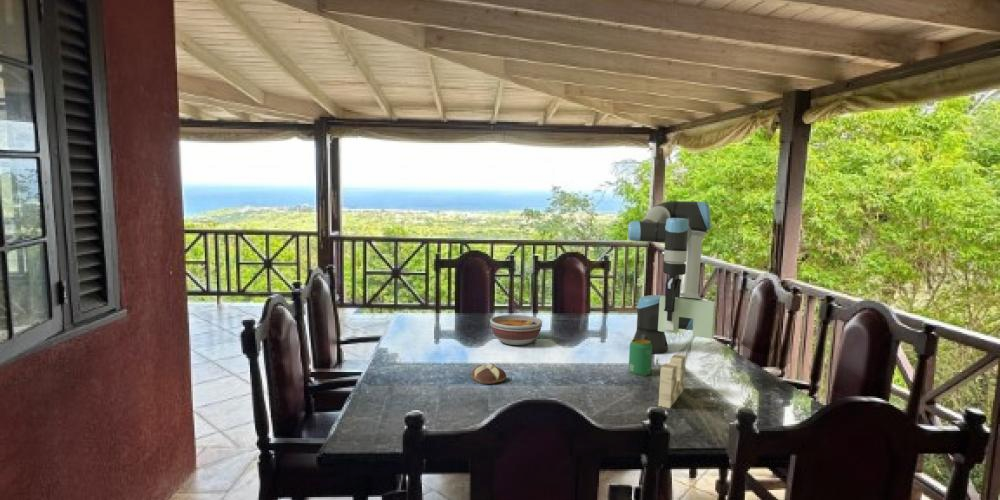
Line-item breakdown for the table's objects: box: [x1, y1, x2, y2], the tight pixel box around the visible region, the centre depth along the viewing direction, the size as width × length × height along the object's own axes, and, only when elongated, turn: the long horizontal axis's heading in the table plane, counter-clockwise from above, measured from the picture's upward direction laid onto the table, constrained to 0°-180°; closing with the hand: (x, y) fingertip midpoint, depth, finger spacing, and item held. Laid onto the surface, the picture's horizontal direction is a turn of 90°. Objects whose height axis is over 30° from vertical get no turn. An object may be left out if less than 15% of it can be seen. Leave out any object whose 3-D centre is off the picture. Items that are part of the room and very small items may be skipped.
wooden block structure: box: [658, 353, 687, 409], centre depth 178 cm, size 20×4×12 cm, turn 150°
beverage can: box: [628, 338, 653, 377], centre depth 202 cm, size 8×8×12 cm
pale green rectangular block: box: [658, 295, 717, 340], centre depth 189 cm, size 18×4×12 cm, turn 60°
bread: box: [471, 363, 507, 385], centre depth 191 cm, size 11×11×5 cm
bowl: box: [489, 314, 543, 346], centre depth 240 cm, size 23×23×10 cm
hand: (670, 328), depth 192 cm, fingers closed on pale green rectangular block, 3 cm apart
